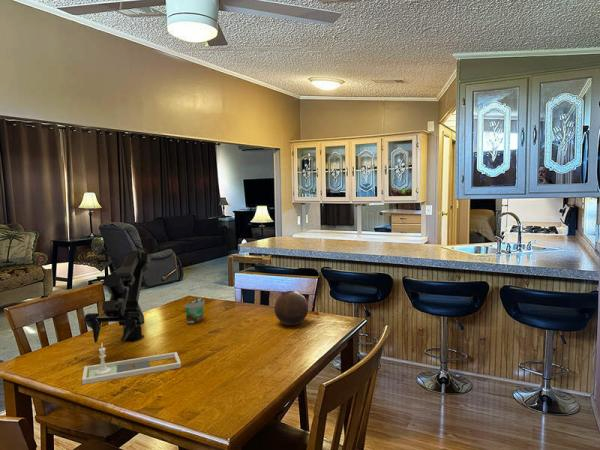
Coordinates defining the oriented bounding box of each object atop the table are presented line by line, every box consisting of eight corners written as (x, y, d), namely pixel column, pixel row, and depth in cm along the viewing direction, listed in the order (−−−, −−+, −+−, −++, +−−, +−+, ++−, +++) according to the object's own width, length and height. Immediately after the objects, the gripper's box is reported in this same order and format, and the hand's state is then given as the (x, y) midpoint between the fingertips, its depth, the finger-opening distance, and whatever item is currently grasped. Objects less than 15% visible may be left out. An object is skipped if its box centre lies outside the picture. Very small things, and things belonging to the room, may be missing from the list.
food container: (198, 326, 188) (197, 304, 187) (185, 325, 190) (184, 303, 189) (209, 318, 200) (209, 297, 199) (197, 317, 202) (196, 296, 201)
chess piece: (95, 377, 137) (93, 346, 136) (95, 371, 141) (93, 342, 140) (111, 374, 139) (110, 344, 138) (111, 368, 143) (109, 339, 142)
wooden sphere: (313, 327, 185) (313, 293, 184) (281, 331, 180) (280, 296, 178) (300, 317, 199) (300, 286, 198) (270, 321, 193) (269, 289, 192)
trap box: (176, 356, 154) (176, 352, 154) (181, 367, 144) (181, 363, 144) (84, 370, 143) (84, 366, 142) (82, 384, 133) (82, 379, 132)
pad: (116, 367, 145) (116, 365, 145) (117, 377, 138) (116, 375, 138) (89, 371, 142) (89, 370, 142) (88, 381, 134) (88, 380, 134)
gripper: (84, 291, 149) (72, 332, 139) (139, 289, 151) (131, 330, 141) (93, 306, 158) (83, 346, 148) (145, 304, 160) (139, 344, 150)
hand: (109, 341), depth 146 cm, fingers open, 9 cm apart
